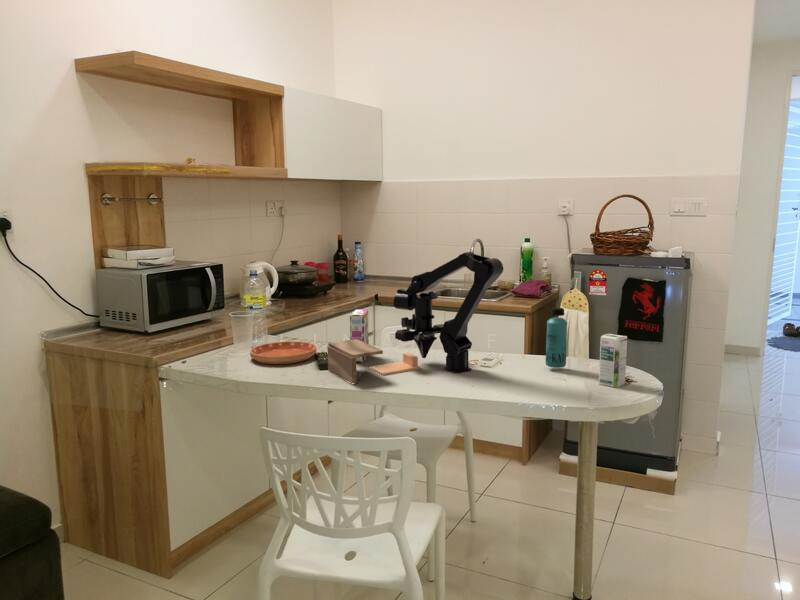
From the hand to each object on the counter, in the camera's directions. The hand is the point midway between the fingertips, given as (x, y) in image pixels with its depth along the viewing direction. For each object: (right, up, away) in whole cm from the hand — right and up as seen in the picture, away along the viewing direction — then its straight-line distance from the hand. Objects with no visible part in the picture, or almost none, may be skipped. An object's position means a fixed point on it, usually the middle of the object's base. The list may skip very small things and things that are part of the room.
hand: (423, 357), depth 208 cm
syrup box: (+54, -6, -25) cm, 60 cm away
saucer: (-49, -1, +12) cm, 50 cm away
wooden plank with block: (-10, -4, -5) cm, 11 cm away
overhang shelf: (-22, -4, -11) cm, 25 cm away
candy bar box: (-22, -1, +9) cm, 23 cm away
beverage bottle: (+42, -3, -9) cm, 43 cm away
